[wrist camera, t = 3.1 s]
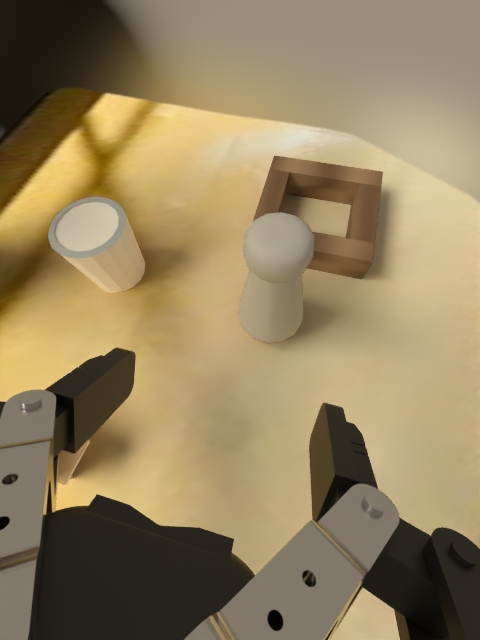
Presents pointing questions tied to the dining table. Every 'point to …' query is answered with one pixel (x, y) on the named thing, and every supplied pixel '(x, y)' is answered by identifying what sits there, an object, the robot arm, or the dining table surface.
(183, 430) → the dining table surface
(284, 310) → the salt shaker
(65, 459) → the architectural model
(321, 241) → the socket
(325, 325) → the dining table surface
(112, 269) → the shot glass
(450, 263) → the dining table surface
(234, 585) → the robot arm
